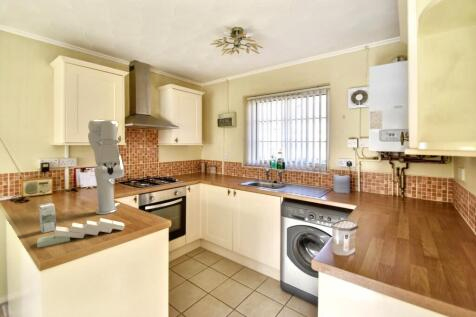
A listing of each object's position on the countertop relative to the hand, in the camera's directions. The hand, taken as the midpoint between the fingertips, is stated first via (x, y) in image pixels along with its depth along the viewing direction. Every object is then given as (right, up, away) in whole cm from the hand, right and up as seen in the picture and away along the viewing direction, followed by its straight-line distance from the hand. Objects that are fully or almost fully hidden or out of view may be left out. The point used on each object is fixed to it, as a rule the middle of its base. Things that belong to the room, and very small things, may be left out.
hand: (110, 174), depth 133 cm
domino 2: (0, -29, -12) cm, 31 cm away
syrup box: (-28, -30, -9) cm, 42 cm away
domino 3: (+5, -29, -9) cm, 31 cm away
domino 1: (-5, -29, -16) cm, 34 cm away
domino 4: (+10, -28, -6) cm, 31 cm away
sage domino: (-10, -30, -19) cm, 36 cm away
